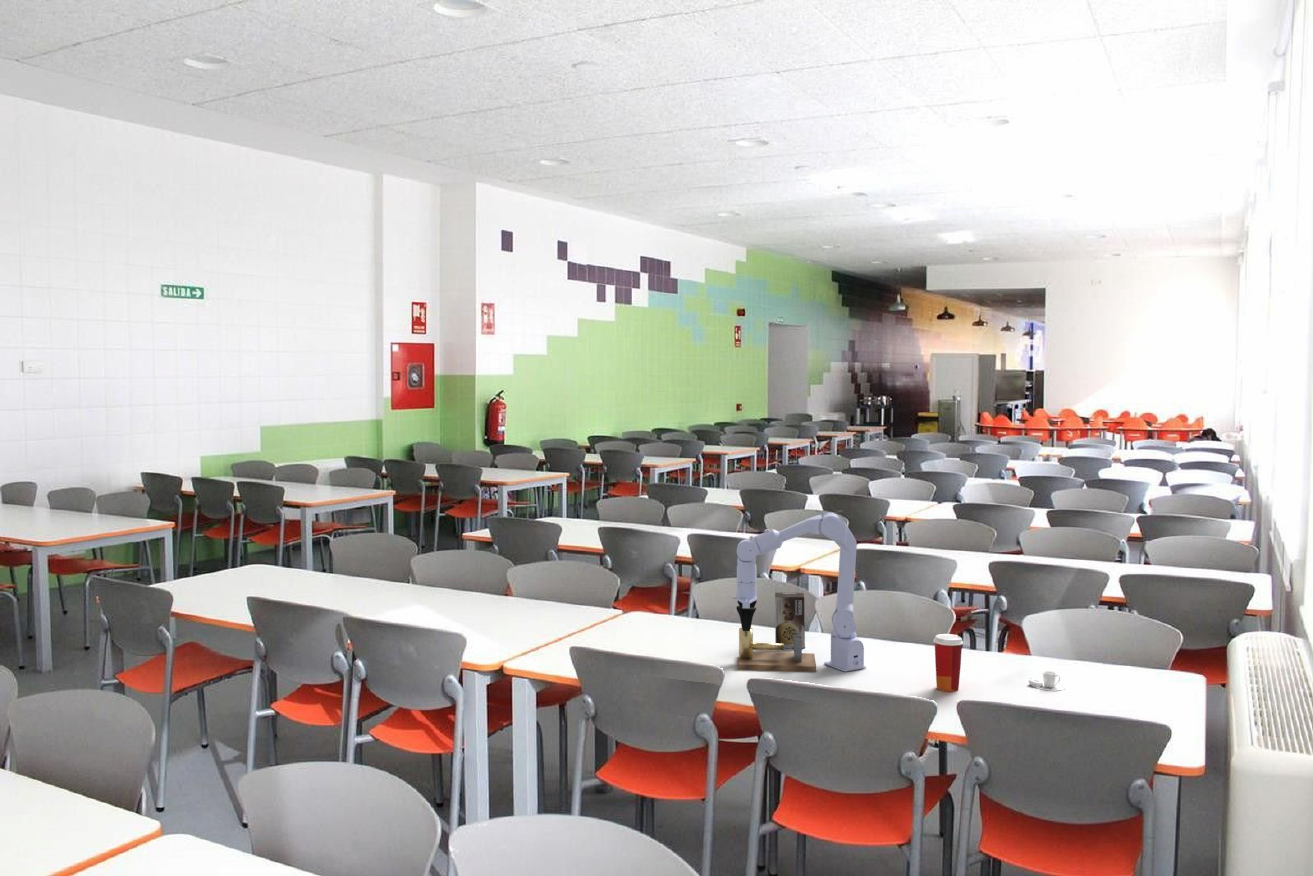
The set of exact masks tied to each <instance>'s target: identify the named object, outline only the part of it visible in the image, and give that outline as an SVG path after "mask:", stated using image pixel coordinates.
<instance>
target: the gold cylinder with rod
mask: <svg viewBox="0 0 1313 876" xmlns="http://www.w3.org/2000/svg"><path fill="white" fill-rule="evenodd" d="M754 651H783V652H784V651H785V648H784V644H782V643H775V642H754V629H753V628H752V627H751V629H750V631H743V630H742V627H740V628H739V629H738V658H739V657H740V658H743V659H750V658H753V652H754Z"/></svg>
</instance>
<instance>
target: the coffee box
mask: <svg viewBox="0 0 1313 876" xmlns="http://www.w3.org/2000/svg"><path fill="white" fill-rule="evenodd" d="M774 597H775V598H774V617H775V618H774V620H775V621H774V622H775V623H774V624H775V628H774V629H775V631H774V633H775V634H774V635H775V637H774V638H775V639H774V640H775V642H774V643H782V644H784V649H789V648H790V649H794V632H795V633H801V637H802V649H805V648H806V643H805V642H806V635H805V634H806V631H805V630H806V628H805V624H806V622H805V619H806V618H805V617H806V616H805V615H806V614H805V611H806V610H805V609H806V608H805V604H806V603H805V600H806V599H805V594H804V592H775V593H774Z"/></svg>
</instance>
